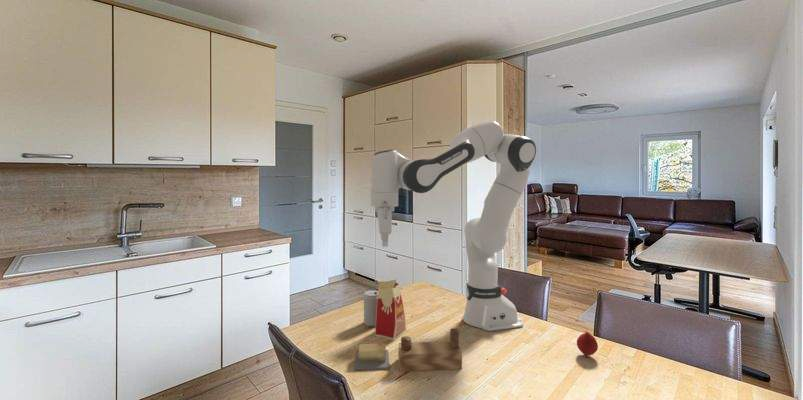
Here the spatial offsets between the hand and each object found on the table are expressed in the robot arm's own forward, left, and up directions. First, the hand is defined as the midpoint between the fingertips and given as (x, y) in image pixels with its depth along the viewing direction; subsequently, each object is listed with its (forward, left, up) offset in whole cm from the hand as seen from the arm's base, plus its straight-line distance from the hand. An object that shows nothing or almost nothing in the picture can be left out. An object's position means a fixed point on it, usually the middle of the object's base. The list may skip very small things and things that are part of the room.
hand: (384, 243), depth 116 cm
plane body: (-13, +13, -34) cm, 39 cm away
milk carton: (-2, -8, -34) cm, 35 cm away
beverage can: (+4, -16, -34) cm, 38 cm away
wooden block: (+4, +10, -34) cm, 35 cm away
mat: (+4, +10, -34) cm, 36 cm away
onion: (-63, +12, -34) cm, 73 cm away
